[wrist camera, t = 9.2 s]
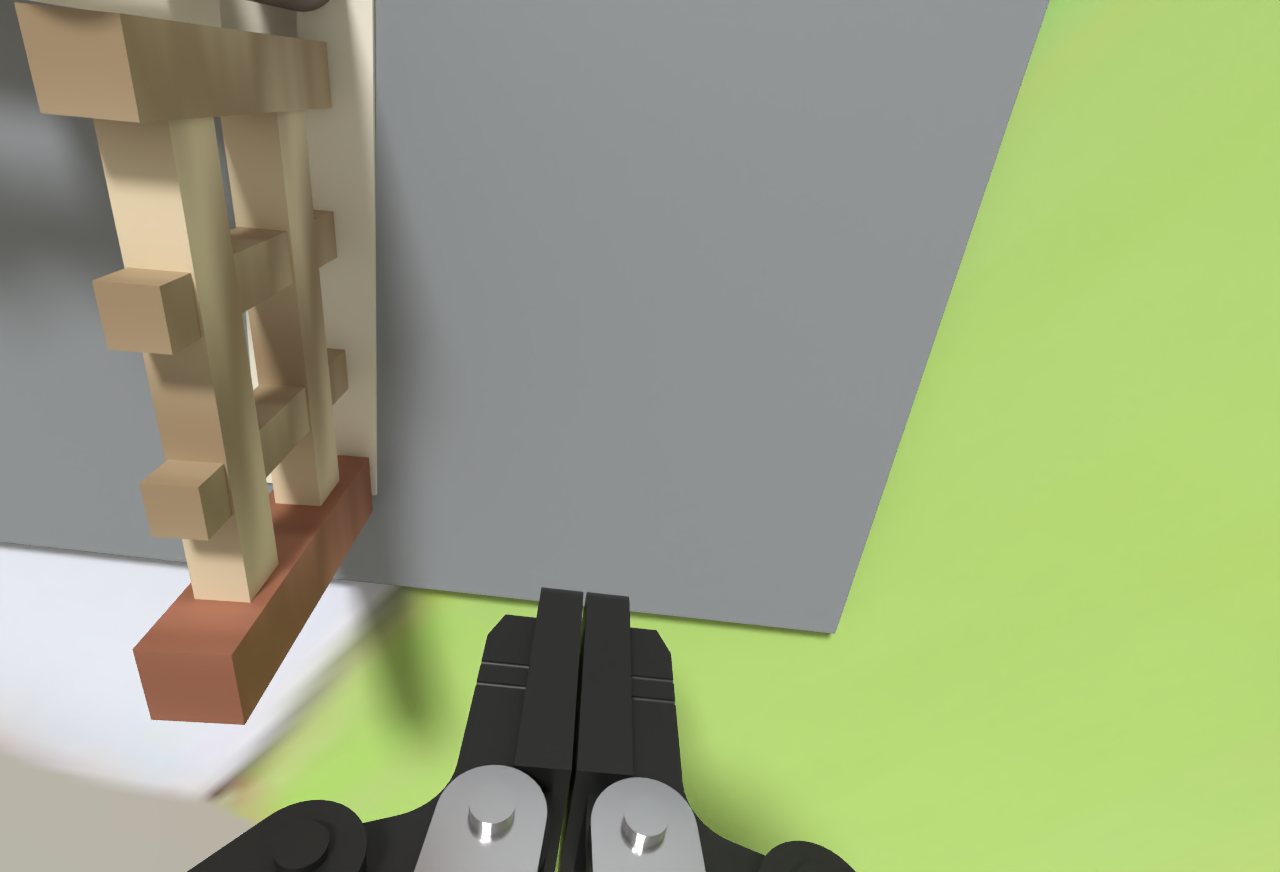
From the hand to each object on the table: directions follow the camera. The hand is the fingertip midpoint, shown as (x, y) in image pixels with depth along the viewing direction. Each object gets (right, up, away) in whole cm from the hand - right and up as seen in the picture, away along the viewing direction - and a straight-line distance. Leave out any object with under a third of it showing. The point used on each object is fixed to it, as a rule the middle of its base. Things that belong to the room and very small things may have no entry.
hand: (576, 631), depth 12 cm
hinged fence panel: (-6, +6, +5) cm, 10 cm away
